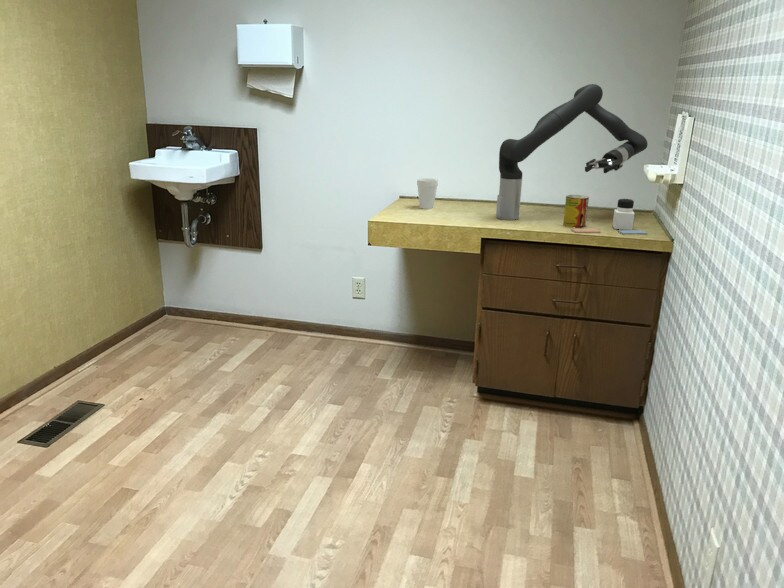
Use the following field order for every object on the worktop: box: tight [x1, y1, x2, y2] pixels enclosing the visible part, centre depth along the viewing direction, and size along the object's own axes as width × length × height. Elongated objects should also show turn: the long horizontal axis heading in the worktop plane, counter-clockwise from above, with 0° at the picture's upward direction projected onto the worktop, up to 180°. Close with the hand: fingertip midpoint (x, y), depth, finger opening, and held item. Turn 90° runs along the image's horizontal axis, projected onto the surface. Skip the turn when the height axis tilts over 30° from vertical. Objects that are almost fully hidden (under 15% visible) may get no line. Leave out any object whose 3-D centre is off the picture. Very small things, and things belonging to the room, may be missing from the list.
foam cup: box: [416, 177, 439, 210], centre depth 295 cm, size 10×9×13 cm
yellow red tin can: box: [562, 194, 590, 229], centre depth 264 cm, size 9×9×12 cm
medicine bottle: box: [612, 198, 636, 230], centre depth 260 cm, size 7×7×12 cm
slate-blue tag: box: [617, 229, 649, 235], centre depth 253 cm, size 10×5×1 cm, turn 96°
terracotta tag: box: [570, 228, 601, 234], centre depth 254 cm, size 10×5×1 cm, turn 96°
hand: (595, 170), depth 266 cm, fingers open, 8 cm apart
